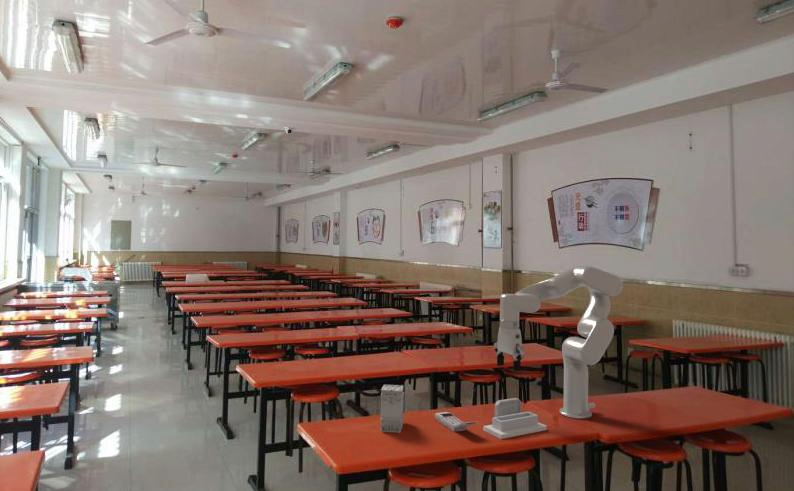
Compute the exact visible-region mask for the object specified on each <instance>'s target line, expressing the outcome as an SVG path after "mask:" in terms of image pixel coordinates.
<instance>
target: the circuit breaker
mask: <svg viewBox="0 0 794 491" xmlns="http://www.w3.org/2000/svg"><path fill="white" fill-rule="evenodd" d="M380 391H381V393H380V403H381V404H380V405H381V406H380V430H379V432H381V433H382V432H384V433H399V434H400V433H401V432H402V428H403V426H404V423H403V422H404V419H403V418H404V412H405V392H404V384H400V385H399V384H383V386H381V390H380Z"/></svg>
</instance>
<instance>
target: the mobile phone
mask: <svg viewBox="0 0 794 491" xmlns="http://www.w3.org/2000/svg"><path fill="white" fill-rule="evenodd" d="M434 418H435V419H436V420H437V422H438V423H440V424H441V425H442V426H444V427H446V428H448V429H449V430H451V431H452V432H455V433H456V432H462V431H466V430H467V427H469V426H472V425H474V424H477V423H478V421H477V420H476V421H467V422H465V421H462V420H460V419H459V418H458V417H456V416H455V414H453V413H451V412H450V411H449V412H448V411H444V412H435V414H434Z"/></svg>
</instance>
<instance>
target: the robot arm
mask: <svg viewBox="0 0 794 491" xmlns="http://www.w3.org/2000/svg"><path fill="white" fill-rule="evenodd" d="M581 287H584V288H587V291H588V293H589V294H588V295H589V297H590V298H589V304H588V306H587V307H586V309H585V311H584V312H583V315H582V316H581V318H580V320H579V321H578V323H577V326H576V327H577V328H576V329H577V333H578V334H579V335H580V336H581V337H584V338H581V337H577V336H571V337H567V338H566V339H564V341H563V342H562V345H561V354H562V359H563V406H562V407H560V408H559V413H560V414H561V415H562V416H565V417H567V418H572V419H578V420H579V419H580V420H581V419H590V418H591V417H592V416H593V415H592V414H593V413H592V411H590V410H591V409H594V408H596V404H595V403H594V402H589V367H588V366H593V365H596V364H597V363H598V362H600V361H601V359H602V357H603V356H604V354H605V352H606V351H607V348H608V347H609V345H610V343H611V341H612V340H613V337H614V335H615V333H614V332H615V327H614V325H613V322H612V321H611V320H609V319H608V316H609V314H610V312H611V308H612V307H611V301H610V297H616V296H618V295H620V294H621V293H622V291H623V289H624V284H623V281H622V279H621V278H620V277H619V276H618V275H615V274H613V273H610V272H607V271H605V270H602V269H599V268H597V267H593V266H589V265H588V266H587V265H575V266H572V267H570V268H568V269H566V270H565V271H562V272H560V273H559V274H557V275H555V276H553V277H550V278H549V279H546V280H545V279H544V280H542V281H540V282H537V283H534V284H530V285H528V286H526V287H524V288H522V289H521V290H519V291H516V292H515V293H502V294H501V295H500V297H499V298H500V300H499V301H500V302H499V305H500V306H499V328H498V332H497V341H496V342H494V343H493V348H494V351H495V355H496V366H497V367H501V366H502V367H503V366H504V365H505V355H504V354H506V355H511V356H512V357H513V359H514V360H513V363H512V365H513V366H512V370H513V371H514V372H517V371H519V372H520V371H521V366H522V365H521V364H522V362H521V361H522V360H523V358H524V355H525V354H526V350H525V349H524V348H523V341H522V332H521V329H520V313H528V314H531V313H536V312H537V311H539V309H540V308H541V305H542V302H541V301H544V300H552V299H553V300H554V299H559V298H561V297H564V296H565V295H567V294H569V293H570V292H573V291H575V290H577V289H579V288H581ZM585 338H586V339H585Z"/></svg>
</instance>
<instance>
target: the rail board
mask: <svg viewBox="0 0 794 491" xmlns="http://www.w3.org/2000/svg"><path fill="white" fill-rule="evenodd" d="M491 421H492V422H491V423H492V424H488V425H483V427H482V429H483V431H484V432H485V433H488V434H490V435H492V436H494V437H496V438H498V439H500V440H503V439H508V438H512V437H518V436H523V435H528V434H533V433H538V432H542V431H547V430H548V425H546V424H543V423H541V422H539V416H538V415H537V414H536V413H534V412H531V411H524V412H521V413H517V414H511V415H506V416H500V417H495V416H494V417H492V419H491Z"/></svg>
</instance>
